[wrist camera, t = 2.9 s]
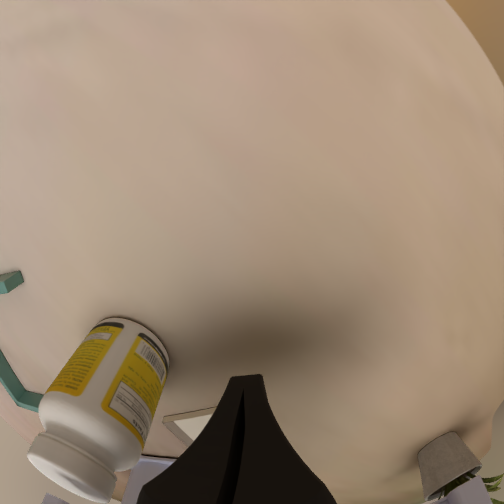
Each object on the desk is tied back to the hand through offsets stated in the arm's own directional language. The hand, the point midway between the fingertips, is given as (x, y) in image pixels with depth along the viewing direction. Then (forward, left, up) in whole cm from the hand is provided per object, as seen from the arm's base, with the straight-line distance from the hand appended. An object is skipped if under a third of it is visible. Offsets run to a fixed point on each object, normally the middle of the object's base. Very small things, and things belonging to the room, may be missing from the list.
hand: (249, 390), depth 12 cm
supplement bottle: (0, +8, -4) cm, 9 cm away
